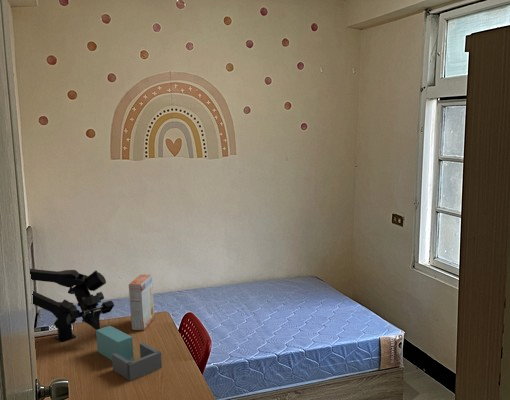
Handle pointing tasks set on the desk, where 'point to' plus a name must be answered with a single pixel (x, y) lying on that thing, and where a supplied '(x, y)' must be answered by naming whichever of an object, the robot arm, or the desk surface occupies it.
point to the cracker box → (141, 302)
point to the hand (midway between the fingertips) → (98, 330)
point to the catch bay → (138, 363)
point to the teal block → (114, 343)
